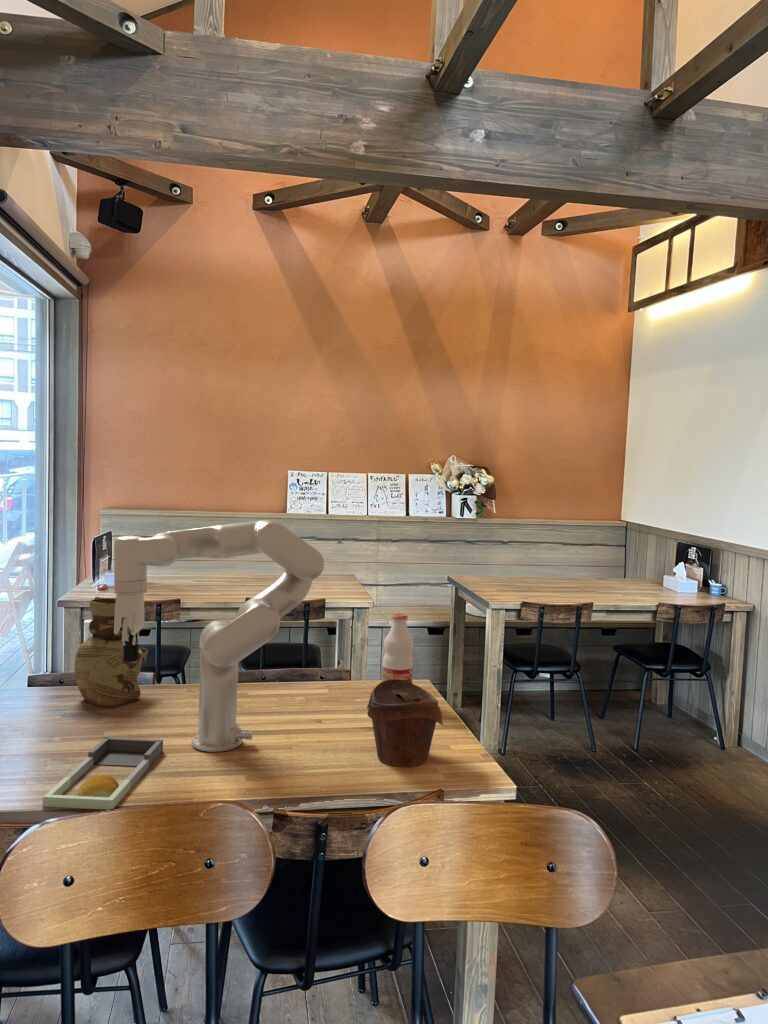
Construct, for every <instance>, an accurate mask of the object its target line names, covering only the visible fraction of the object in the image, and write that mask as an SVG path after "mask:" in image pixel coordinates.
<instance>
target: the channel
mask: <svg viewBox="0 0 768 1024" xmlns="http://www.w3.org/2000/svg"><path fill="white" fill-rule="evenodd" d="M163 750H164V740H163V739H158V738H157V739H156V738H155V739H154V738H134V737H133V738H132V737H113V736H112V737H111V736H109V737H108V736H105V737H103V739H101V740H100V742H98V743H97V744H96V745H94V746H93V748H91V749H89V751H88V755H87V757H86V758H85V759H83V761H82V762H80V763H79V764H78V765H76V767H75V768H73V769H72V770H71V771H70V772H69V773H68V774H67V775H66V776H65V777H64V778H62V779H61V780H60V781H59V782H58V783H57V784H56V785H55V786H54V787H52V788H51V789H49V791H48V792H47V793H45V794H44V795H43V796H42V807H43V808H44V807H46V808H63V809H65V808H66V809H67V808H68V809H87V810H88V809H89V810H107V811H111V810H110V809H113V810H114V809H115V808H116V807H117V805H118V804H119V803H120V802H121V800H122V799H123V798H124V797H125V796H126V795H127V794H128V792H129V791H130V790H131V789H133V787H134V785H135V784H136V783H137V782H138V781H139V780H140V778H141V777H142V776H143V775H144V774H145V773H146V772H147V770H148V769H149V768H150V767H151V766H152V765H153V764H154V763H155V761H156V760H157V759H158V758H159V757H160V756H161V754H162V753H164V752H163ZM93 766H109V767H110V766H111V767H128V768H129V767H130V768H133V767H134V769H133V770H132V771H131V773H129V775H128V776H127V777H126V778H125V780H123V781H122V783H120V784H119V787H118V788H117V789H116V790H115V791H114V792H113V794H112V795H111V796H110V797H89V796H77V795H65V794H64V793H65V792H66V791H67V790H68V789H70V787H72V785H73V784H74V783H76V782H77V781H78V780H79V779H80V778H81V777H82V776H84V774H85V773H86V772H87V771H88V770H89V769H91V768H92V767H93ZM63 794H64V795H63Z"/></svg>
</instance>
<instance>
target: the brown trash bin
mask: <svg viewBox="0 0 768 1024" xmlns="http://www.w3.org/2000/svg"><path fill="white" fill-rule="evenodd" d="M366 709H368V711H367V717H369V718H370V719H371V722H372V729H373V735H374V741H375V748H376V755H377V758H378V761H380V762H382V763H384V764H387V765H390V766H393V767H400V768H411V767H413V768H414V767H417V766H418V767H419V766H421V765H423V764H425V763H426V762H427V760H428V759H429V754H430V751H431V746H432V741H433V737H434V734H435V728H436V724H437V723H438V724H440V725H441V726H442V727H444V723H443V712H442V709H441V707H440V706H439V701H438V700H437V699H436V698H435V697H434V696H433V695H432V694H431V693H429V691H427V690H425V689H423V688H422V687H420V686H418V685H416V684H414V683H413V682H412V683H410V682H407V681H403V680H398V679H390V680H386V681H383V682H382V681H381V682H379V683H378V684H377V685H376V686H375V687H374V688H373V689H372V691H371V692H370V697H369V701H368V703H367V705H366Z"/></svg>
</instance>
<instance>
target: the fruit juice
mask: <svg viewBox="0 0 768 1024" xmlns="http://www.w3.org/2000/svg"><path fill="white" fill-rule="evenodd" d="M408 617H409V616H408V614H406V613H393V614H392V615H391V621H392V624H391V626H390V630H389V632H388V633H387V635H386V636H385V637H384V641H383V648H384V655H383V657H382V667H381V668H382V671H381V673H382V674H381V676H382V677H381V682H383V681H386V680H390V679H398V680H403V681H407V682H410V683H412V684H413V678H414V677H413V674H414V671H413V670H414V658H413V655H412V653H413V652H412V651H413V649H414V640H413V638H412V636H411V634H410V633H409V629H408V624H407V621H408Z"/></svg>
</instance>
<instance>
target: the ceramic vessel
mask: <svg viewBox="0 0 768 1024" xmlns="http://www.w3.org/2000/svg"><path fill="white" fill-rule="evenodd" d="M115 602H116V597H105V598H104V597H102V598H95V599H91V600H89V609H90V613H91V615H92V620H91V621H89V622H90V623H89V625H88V630H89V633H90V634H91V636H90V637H88V638H87V639H86V640H85V641H82V643H81V644H80V645H79V647H77V650H76V653H75V656H74V657H75V658H74V677H75V681H76V685H77V687H78V691H79V693H80V694H81V696H82V697H83V699H84V700H85V701H86V702H87V703H89V704H91V705H93V706H97V707H101V708H107V709H108V708H109V709H111V708H116V707H119V706H122V705H124V704H125V705H126V704H127V703H132V702H136V701H137V700H138V699H139V698H140V697H141V688H140V686H139V682H138V680H137V679H138V677H139V674H141V673H140V672H141V668H142V663H144V664H146V663H147V655H148V653H149V650H148V648H146V647H144V646H143V647H140V648H139V659H138V660H137V661H124V645H123V641H122V632H121V633H120V634H119V635H115V633H114V617H115Z"/></svg>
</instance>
